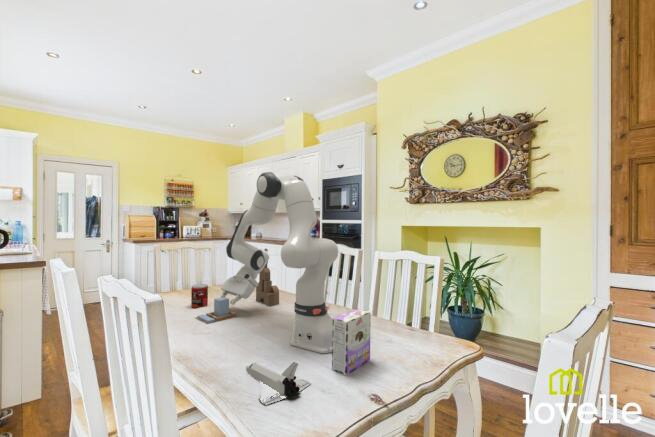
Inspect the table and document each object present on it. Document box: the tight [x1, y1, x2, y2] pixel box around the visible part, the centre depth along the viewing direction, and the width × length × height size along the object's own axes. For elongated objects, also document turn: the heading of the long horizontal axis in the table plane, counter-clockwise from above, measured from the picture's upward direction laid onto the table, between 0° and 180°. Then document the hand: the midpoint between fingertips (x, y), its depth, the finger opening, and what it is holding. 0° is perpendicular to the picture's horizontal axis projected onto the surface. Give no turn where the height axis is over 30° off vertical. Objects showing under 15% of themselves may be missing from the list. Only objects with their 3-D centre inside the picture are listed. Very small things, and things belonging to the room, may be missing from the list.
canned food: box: [190, 283, 209, 310], centre depth 171 cm, size 8×8×11 cm
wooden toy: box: [255, 263, 280, 307], centre depth 181 cm, size 15×7×25 cm, turn 42°
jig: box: [194, 310, 241, 325], centre depth 150 cm, size 12×16×2 cm
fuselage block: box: [213, 296, 230, 317], centre depth 151 cm, size 4×5×8 cm
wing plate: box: [197, 314, 216, 324], centre depth 146 cm, size 10×3×1 cm, turn 47°
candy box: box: [331, 308, 371, 376], centre depth 106 cm, size 14×6×16 cm, turn 141°
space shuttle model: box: [245, 362, 311, 406], centre depth 95 cm, size 16×25×10 cm, turn 45°
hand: (226, 302), depth 153 cm, fingers open, 8 cm apart
